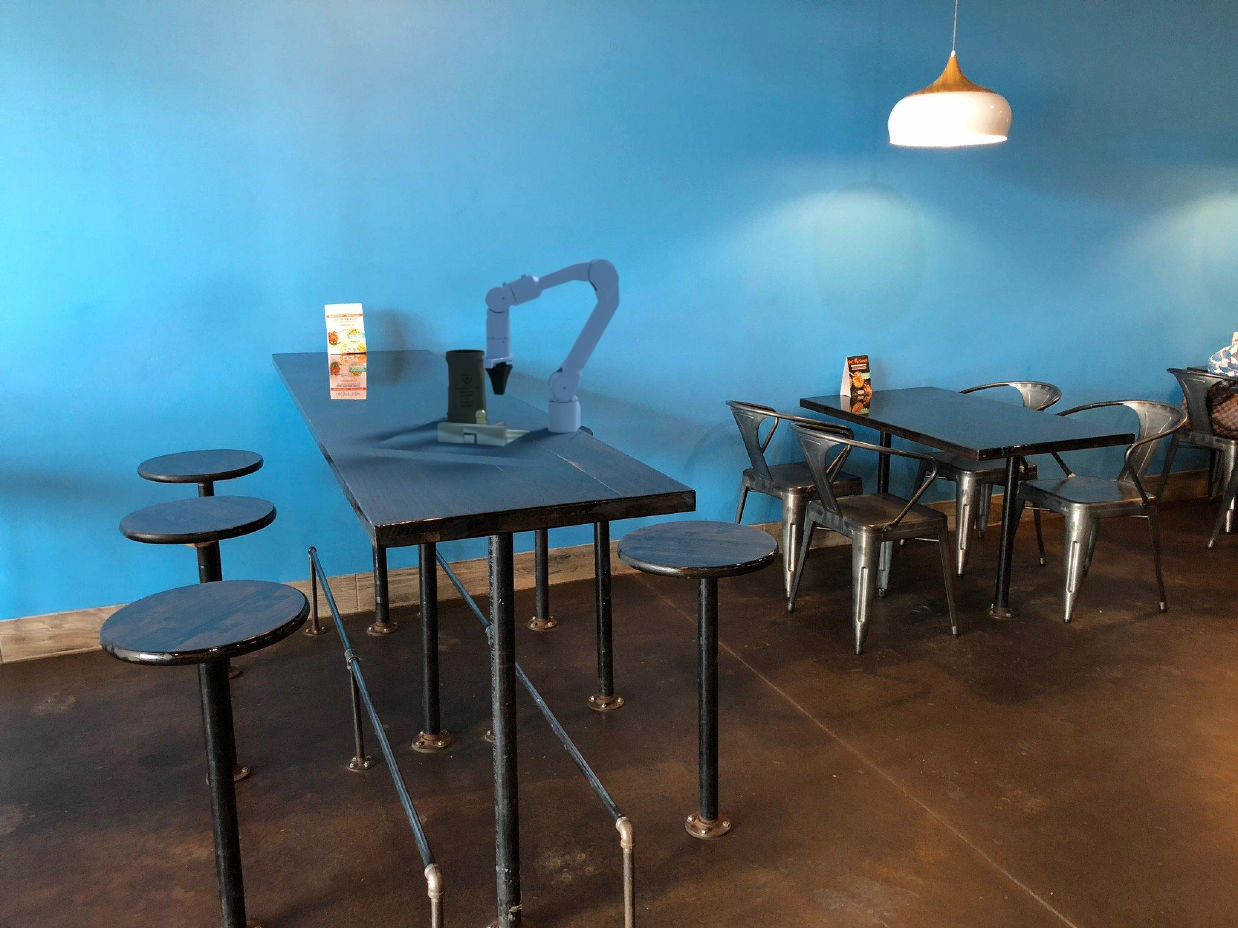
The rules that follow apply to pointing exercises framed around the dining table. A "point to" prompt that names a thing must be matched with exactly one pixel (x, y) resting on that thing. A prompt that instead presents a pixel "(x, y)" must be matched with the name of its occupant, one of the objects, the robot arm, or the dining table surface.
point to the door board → (478, 433)
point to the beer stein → (465, 385)
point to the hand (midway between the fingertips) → (499, 394)
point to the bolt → (480, 421)
